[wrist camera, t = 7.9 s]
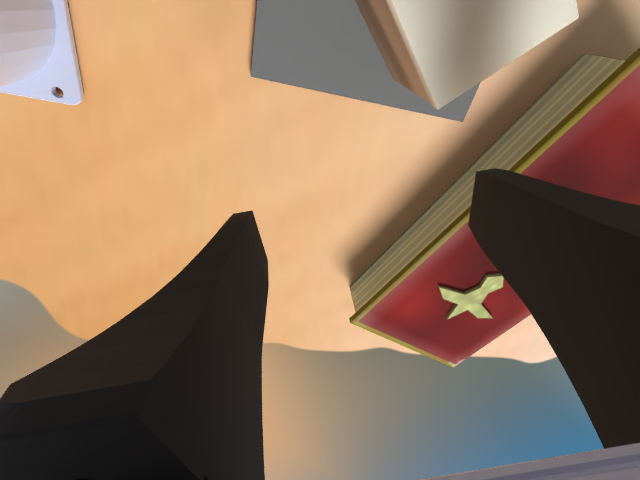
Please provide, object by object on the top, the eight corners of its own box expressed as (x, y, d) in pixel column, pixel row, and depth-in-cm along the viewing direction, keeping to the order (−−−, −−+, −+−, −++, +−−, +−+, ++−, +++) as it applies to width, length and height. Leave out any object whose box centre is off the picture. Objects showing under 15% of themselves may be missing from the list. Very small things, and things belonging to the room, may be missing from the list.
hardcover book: (664, 159, 23) (732, 187, 19) (438, 332, 32) (457, 371, 28) (581, 41, 18) (652, 50, 14) (342, 284, 27) (350, 325, 23)
